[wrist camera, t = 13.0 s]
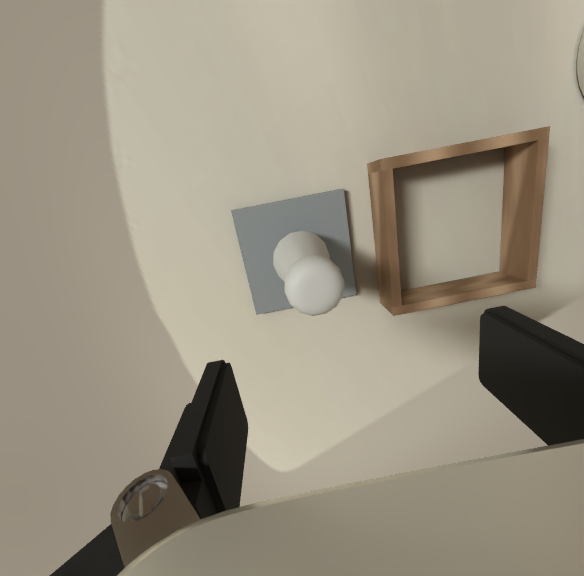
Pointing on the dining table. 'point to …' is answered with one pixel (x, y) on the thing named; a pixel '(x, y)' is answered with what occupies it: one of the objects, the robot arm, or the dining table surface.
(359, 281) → the dining table surface
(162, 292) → the dining table surface
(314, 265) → the salt shaker
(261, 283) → the mat
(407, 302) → the bin
